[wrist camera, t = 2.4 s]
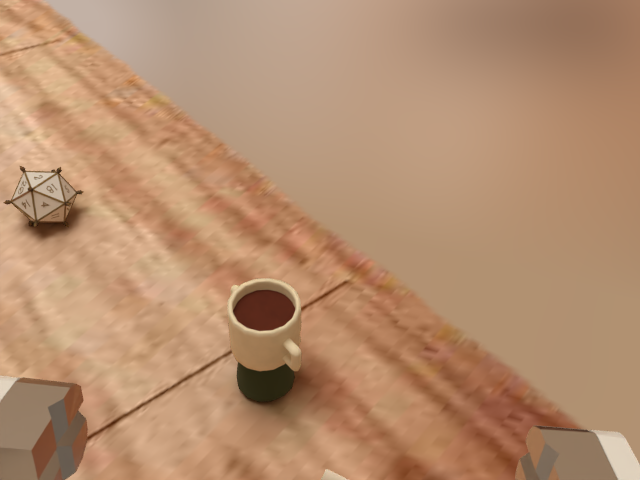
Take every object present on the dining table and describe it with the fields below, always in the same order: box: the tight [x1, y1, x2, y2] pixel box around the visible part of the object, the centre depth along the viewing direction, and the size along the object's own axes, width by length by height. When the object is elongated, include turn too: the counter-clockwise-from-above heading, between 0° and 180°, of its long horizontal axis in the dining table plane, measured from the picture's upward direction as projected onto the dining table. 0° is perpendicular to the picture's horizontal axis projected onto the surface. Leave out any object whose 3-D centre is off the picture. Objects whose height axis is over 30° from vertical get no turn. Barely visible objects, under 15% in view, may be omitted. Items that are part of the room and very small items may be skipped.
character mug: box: [228, 278, 302, 402], centre depth 61 cm, size 11×7×13 cm, turn 41°
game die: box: [4, 166, 83, 227], centre depth 79 cm, size 9×8×10 cm
